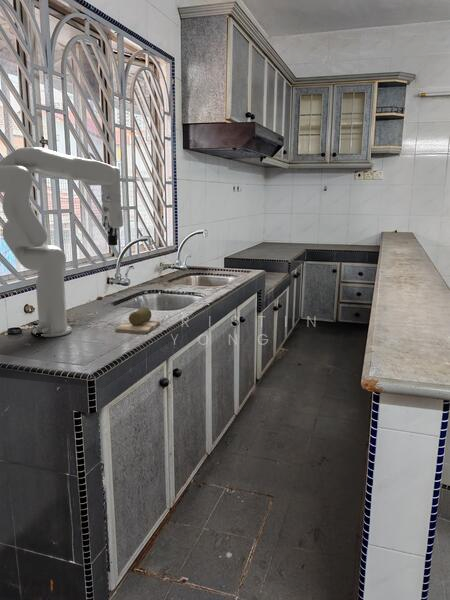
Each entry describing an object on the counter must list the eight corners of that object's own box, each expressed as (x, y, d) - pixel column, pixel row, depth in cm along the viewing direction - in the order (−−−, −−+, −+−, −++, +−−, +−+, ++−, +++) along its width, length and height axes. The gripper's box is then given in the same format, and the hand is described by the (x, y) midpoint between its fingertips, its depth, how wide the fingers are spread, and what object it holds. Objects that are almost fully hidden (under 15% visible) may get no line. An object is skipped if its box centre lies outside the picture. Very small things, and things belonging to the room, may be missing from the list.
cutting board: (146, 334, 177) (146, 330, 176) (115, 331, 179) (115, 328, 179) (159, 324, 190) (159, 321, 190) (131, 322, 193) (131, 319, 192)
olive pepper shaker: (134, 310, 193) (123, 315, 182) (147, 304, 191) (137, 308, 181) (140, 324, 193) (130, 329, 182) (154, 318, 192) (144, 323, 181)
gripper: (111, 199, 185) (113, 247, 189) (127, 198, 200) (129, 243, 204) (93, 198, 187) (95, 246, 191) (110, 198, 201) (112, 243, 205)
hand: (112, 245), depth 197 cm, fingers closed
